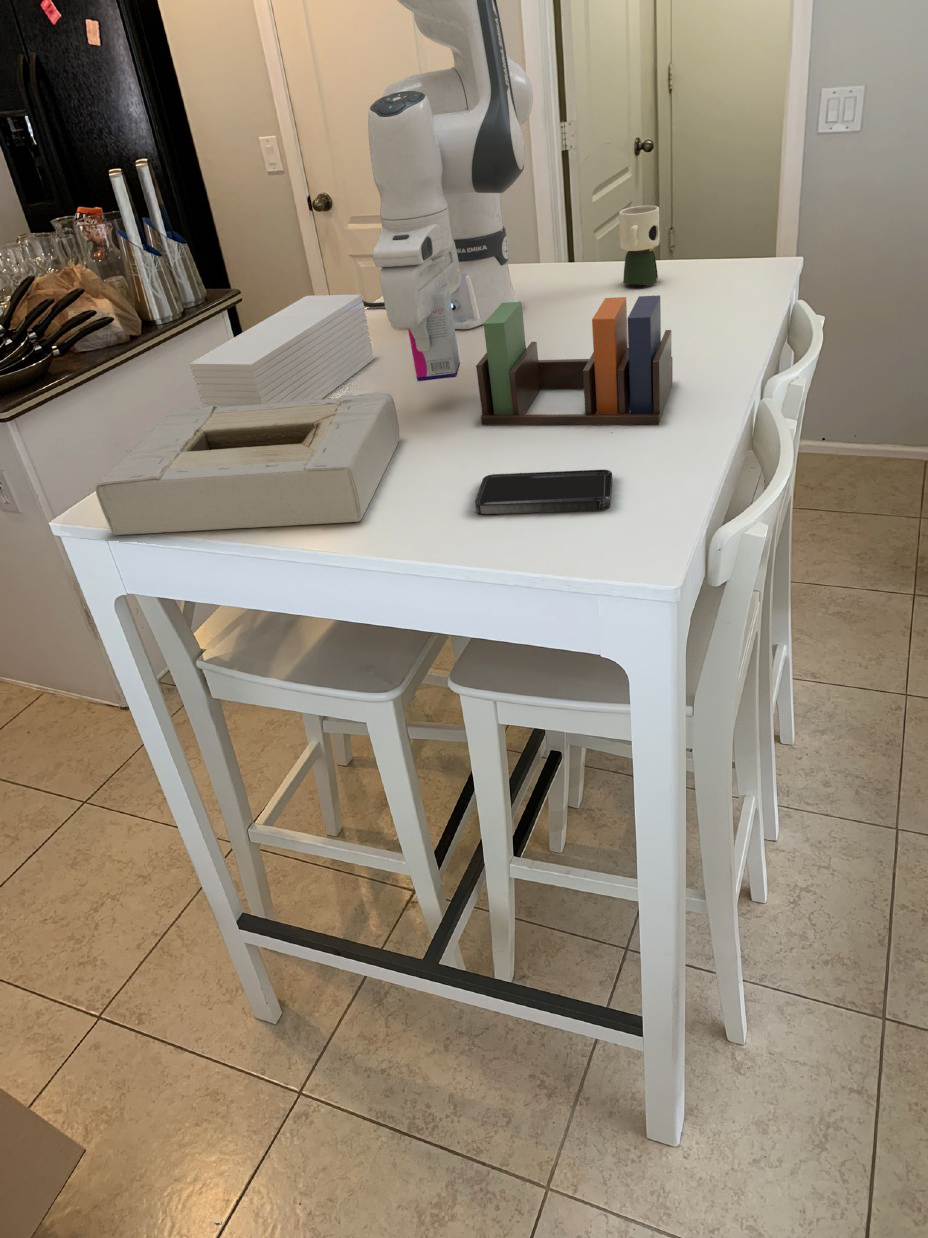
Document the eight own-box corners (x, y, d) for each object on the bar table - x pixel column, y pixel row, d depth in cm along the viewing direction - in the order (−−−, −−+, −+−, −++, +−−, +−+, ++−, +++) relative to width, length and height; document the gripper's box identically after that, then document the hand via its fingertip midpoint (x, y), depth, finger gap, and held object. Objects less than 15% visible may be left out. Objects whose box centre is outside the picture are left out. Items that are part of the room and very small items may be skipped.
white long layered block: (320, 358, 157) (306, 295, 151) (374, 359, 153) (361, 294, 147) (211, 434, 134) (189, 363, 128) (270, 437, 129) (251, 364, 123)
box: (402, 440, 123) (182, 455, 128) (393, 385, 118) (165, 403, 124) (367, 526, 104) (111, 539, 109) (354, 465, 100) (88, 482, 105)
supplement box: (460, 363, 131) (449, 282, 125) (456, 377, 126) (444, 293, 120) (421, 367, 132) (408, 286, 125) (416, 381, 127) (402, 298, 121)
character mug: (653, 292, 163) (652, 215, 156) (615, 293, 166) (612, 217, 159) (665, 275, 172) (665, 201, 164) (628, 276, 174) (626, 203, 167)
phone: (609, 500, 98) (473, 505, 101) (609, 510, 98) (474, 514, 102) (612, 468, 104) (484, 473, 107) (613, 477, 105) (485, 482, 108)
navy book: (630, 417, 118) (627, 317, 111) (640, 391, 125) (638, 296, 118) (652, 417, 118) (650, 316, 110) (661, 391, 124) (660, 295, 117)
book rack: (481, 425, 123) (474, 367, 119) (508, 387, 134) (502, 333, 129) (659, 424, 115) (658, 363, 111) (672, 384, 126) (672, 327, 121)
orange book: (597, 417, 120) (591, 319, 113) (609, 392, 127) (605, 297, 119) (618, 417, 119) (614, 318, 112) (629, 391, 126) (626, 296, 119)
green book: (494, 418, 124) (483, 323, 117) (511, 393, 131) (501, 302, 124) (514, 418, 123) (503, 322, 116) (530, 393, 130) (521, 301, 123)
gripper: (421, 219, 128) (436, 318, 135) (366, 257, 112) (386, 366, 120) (464, 215, 126) (476, 316, 133) (414, 253, 110) (431, 365, 118)
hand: (433, 340), depth 126 cm, fingers closed on supplement box, 6 cm apart
